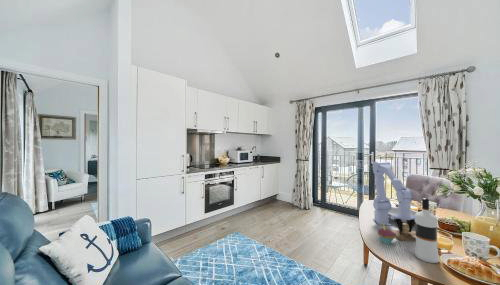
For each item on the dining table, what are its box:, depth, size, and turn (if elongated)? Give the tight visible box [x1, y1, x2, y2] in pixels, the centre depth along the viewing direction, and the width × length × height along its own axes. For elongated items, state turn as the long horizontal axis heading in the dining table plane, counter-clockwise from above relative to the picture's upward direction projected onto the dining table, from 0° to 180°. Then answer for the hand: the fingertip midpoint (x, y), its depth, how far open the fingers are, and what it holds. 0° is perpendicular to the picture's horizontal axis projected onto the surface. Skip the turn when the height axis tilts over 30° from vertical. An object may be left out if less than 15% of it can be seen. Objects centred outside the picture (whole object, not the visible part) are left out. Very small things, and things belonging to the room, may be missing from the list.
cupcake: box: [377, 222, 396, 245], centre depth 113 cm, size 9×8×12 cm
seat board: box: [390, 229, 416, 242], centre depth 118 cm, size 9×18×2 cm, turn 81°
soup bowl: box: [388, 206, 419, 224], centre depth 142 cm, size 24×24×7 cm
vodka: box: [413, 197, 440, 264], centre depth 97 cm, size 9×9×30 cm
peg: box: [401, 223, 409, 236], centre depth 119 cm, size 4×4×7 cm
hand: (404, 231), depth 119 cm, fingers closed on peg, 4 cm apart
